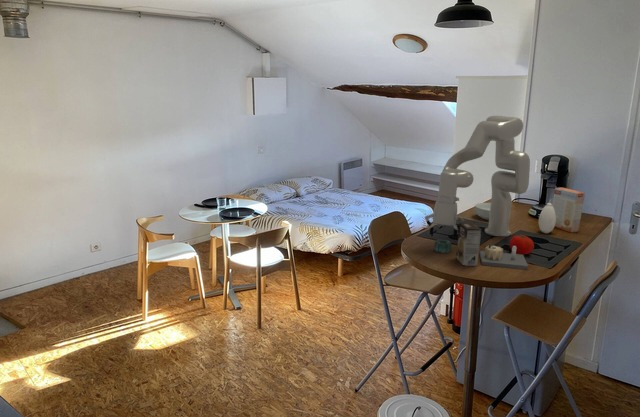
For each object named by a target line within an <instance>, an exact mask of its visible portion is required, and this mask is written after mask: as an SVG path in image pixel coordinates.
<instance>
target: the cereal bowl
mask: <svg viewBox="0 0 640 417" xmlns="http://www.w3.org/2000/svg"><path fill="white" fill-rule="evenodd" d="M490 207H491V202H478V203H475V205H474V212H475V214H476V215H477V216H479V217H480V218H482V219H483V220H485V221H489V216H490Z"/></svg>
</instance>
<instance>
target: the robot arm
mask: <svg viewBox="0 0 640 417" xmlns="http://www.w3.org/2000/svg"><path fill="white" fill-rule="evenodd" d="M523 129H524V122H523V120H522V119H521V118H519V117H515V116H503V115H491V116H488V117H487V118H486V120H482V121H479V123H478V124H477V125H476V127H475V128H474V130H473V132H472V133H471V136H470V138H469V139H468V141H467V143H466V145H465V147H463V148H462V149H460V150H458V151H456V152H455V153H454V154H453V155H452V156H451V157H450V158H449V159H447V161H446V163H445V164H444V167H443V168H442V171H441V172H440V176H439V185H438V186H439V187H438V196H437V200H436V201H435V203H434V209H433V213H431V214H428V215H426V216H424V219H425V222H426V224H427V225H428V226H429V235H430V237H433V236H434V229H435V228H434V226H436V225H441V226H452V227H453V234H452V238H453V239H454V240H455V239H456V237H457V238H458V231H459V224H458V225H457V220H458V221H459V222H460V223H466V220H465V219H463V218H462V217H460V216H458V203H457V202H460V197H457V190H458V188H461V189H464V188H465V189H466V188H469V187H470V186H471V185H473V183H474V175H473V173H472V172H471V171H468V170H464V169H459V167H460V166H461V165H462V164H464V163H466V162H469V161H473V160H477V159H480V158H482V157H483V155H484V154H485V152H486V150H487V148H488V146H489V145H490V142H492V141H494V142H495V156H494V157H495V158H494V159H495V160H494V161H495V166H496V168H498V169H501V170H498V171H496V172H494V173H493V174H492V176H491V181H490V182H491V184H490V185H491V197H490V198H491V199H490V203H491V207H490V216H489V220H488V226H487V227H485V228H484V233H485V234H486V235H490V236H494V237H501V238H504V237H510V236H511V235H512V232H511V230H509V226H510V217H511V209H512V208H511V207H512V199H513V198H512V196H511V193H513V194H517V195H521V194H522V195H523V194H525V193H526V192H527V190H528V188H529V185H530V172H531V168H530V167H531V160H530V156H529V155H528V153H526V152H524V151H519V150H516V149H515V144H516V142H515V140H516V139H515V138H516V137H518V136H519V135H520V134H521V133H522V132H523ZM505 170H506V171H505ZM430 219H432V221H430Z"/></svg>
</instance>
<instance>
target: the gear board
mask: <svg viewBox="0 0 640 417" xmlns="http://www.w3.org/2000/svg"><path fill="white" fill-rule="evenodd" d="M484 249H485V250H479V258H480V263H481V265H482V266H488V267H500V268H507V269H508V268H509V269H520V270H528V269H529V264H528V263H527V261H526V259H525V255H521V254H516V246H513V247H512V250H511V252H510V253H507V252H504V248H502V247H501V246H496V245H492V243H488V245H487V246H485V247H484Z"/></svg>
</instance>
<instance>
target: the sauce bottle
mask: <svg viewBox="0 0 640 417" xmlns="http://www.w3.org/2000/svg"><path fill="white" fill-rule="evenodd" d="M551 202H552V200H551V198H550V199H549V202H547V203H546V205H545V206H543V208H542V210H541V212H540V214H539V217H538V226H539V230H540V231H541V232H542V233H543V234H549V233H550V232H552V231H553V230H554V229H555V227H554V226H555V223H556V214H555V210H554V208H553V203H551Z"/></svg>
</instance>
